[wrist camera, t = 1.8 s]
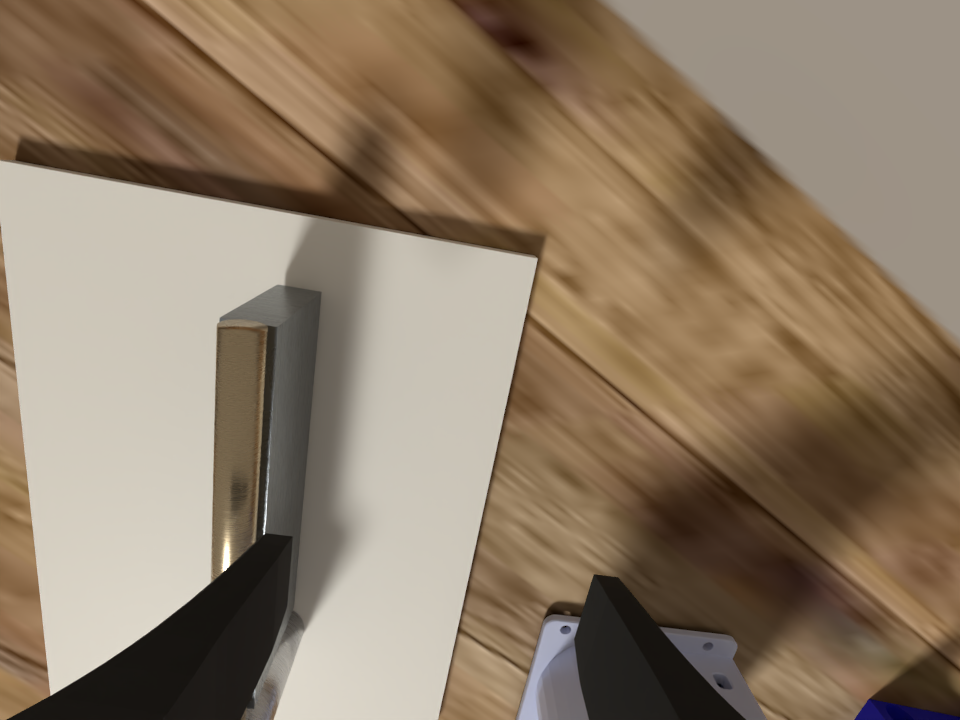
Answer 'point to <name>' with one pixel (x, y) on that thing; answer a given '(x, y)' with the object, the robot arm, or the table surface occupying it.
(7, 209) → the gate board
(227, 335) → the gate
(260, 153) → the table surface
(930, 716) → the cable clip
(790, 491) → the table surface
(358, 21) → the table surface
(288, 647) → the gate post
